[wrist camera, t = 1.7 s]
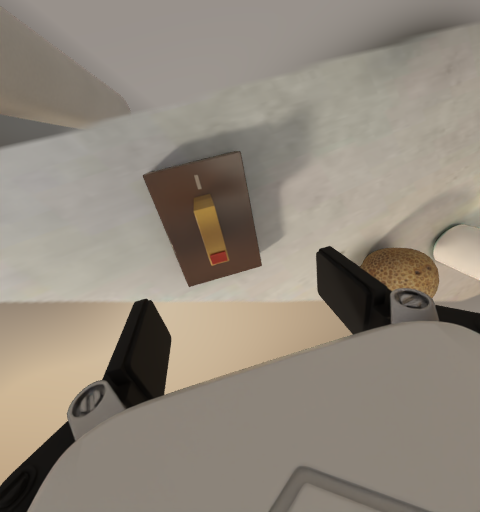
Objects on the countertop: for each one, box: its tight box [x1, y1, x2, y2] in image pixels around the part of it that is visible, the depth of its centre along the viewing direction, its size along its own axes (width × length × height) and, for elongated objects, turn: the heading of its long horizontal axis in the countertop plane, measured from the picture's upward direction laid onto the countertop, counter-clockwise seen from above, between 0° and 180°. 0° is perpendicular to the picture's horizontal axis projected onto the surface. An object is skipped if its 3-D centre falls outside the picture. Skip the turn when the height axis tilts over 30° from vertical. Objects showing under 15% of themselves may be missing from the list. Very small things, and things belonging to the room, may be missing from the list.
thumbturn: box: [194, 194, 229, 265], centre depth 21 cm, size 6×2×6 cm, turn 12°
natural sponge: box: [360, 248, 439, 298], centre depth 31 cm, size 9×9×10 cm
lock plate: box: [143, 151, 262, 287], centre depth 25 cm, size 14×10×3 cm
